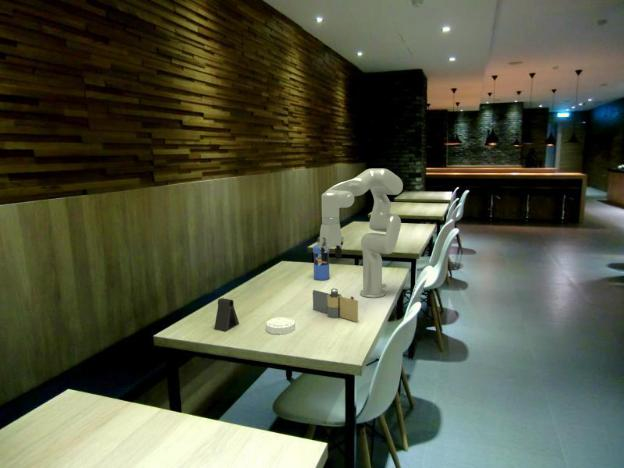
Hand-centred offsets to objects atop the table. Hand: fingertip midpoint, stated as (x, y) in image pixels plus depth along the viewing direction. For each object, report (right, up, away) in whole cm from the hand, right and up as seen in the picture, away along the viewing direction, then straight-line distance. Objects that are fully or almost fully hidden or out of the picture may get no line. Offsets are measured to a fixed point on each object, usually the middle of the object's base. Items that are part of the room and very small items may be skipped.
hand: (331, 259), depth 194 cm
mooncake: (-22, -28, -14) cm, 38 cm away
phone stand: (-44, -28, -11) cm, 53 cm away
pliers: (+3, -23, +14) cm, 28 cm away
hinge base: (-2, -24, +3) cm, 25 cm away
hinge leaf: (+5, -25, -3) cm, 26 cm away
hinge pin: (+1, -25, 0) cm, 25 cm away
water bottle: (-3, -15, +61) cm, 63 cm away
